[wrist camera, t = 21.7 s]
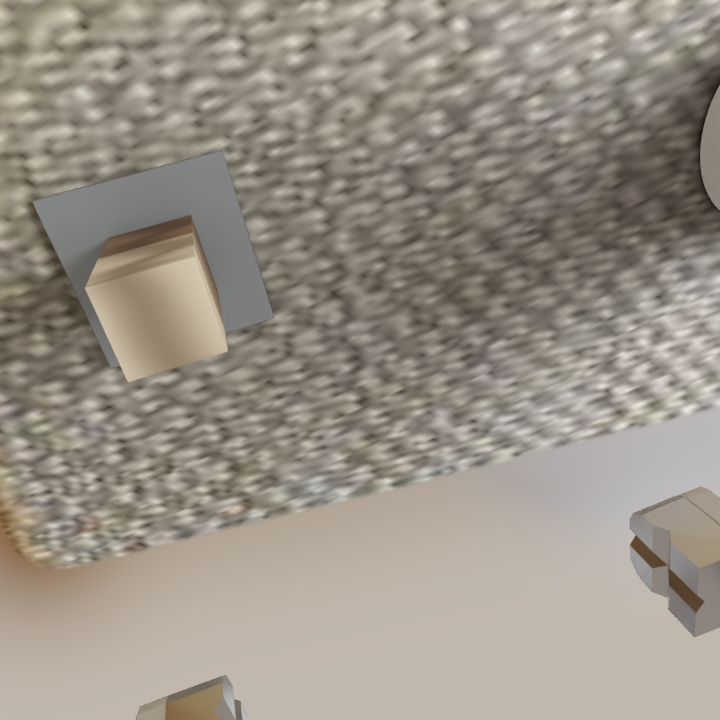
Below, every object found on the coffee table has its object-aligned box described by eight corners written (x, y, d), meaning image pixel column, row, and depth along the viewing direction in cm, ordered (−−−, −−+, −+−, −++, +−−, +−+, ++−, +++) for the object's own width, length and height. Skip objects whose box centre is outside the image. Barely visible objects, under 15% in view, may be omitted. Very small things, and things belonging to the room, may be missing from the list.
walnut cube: (190, 214, 36) (192, 233, 32) (217, 290, 39) (222, 317, 34) (108, 237, 36) (98, 259, 31) (140, 313, 38) (135, 343, 34)
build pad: (221, 150, 36) (222, 151, 35) (273, 314, 41) (274, 318, 40) (34, 200, 34) (32, 201, 34) (112, 364, 39) (111, 368, 39)
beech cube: (192, 232, 32) (194, 256, 28) (222, 316, 34) (228, 351, 30) (97, 259, 31) (84, 287, 27) (134, 343, 34) (127, 382, 29)
